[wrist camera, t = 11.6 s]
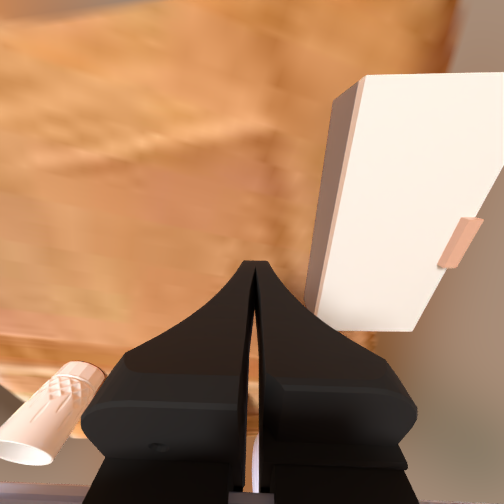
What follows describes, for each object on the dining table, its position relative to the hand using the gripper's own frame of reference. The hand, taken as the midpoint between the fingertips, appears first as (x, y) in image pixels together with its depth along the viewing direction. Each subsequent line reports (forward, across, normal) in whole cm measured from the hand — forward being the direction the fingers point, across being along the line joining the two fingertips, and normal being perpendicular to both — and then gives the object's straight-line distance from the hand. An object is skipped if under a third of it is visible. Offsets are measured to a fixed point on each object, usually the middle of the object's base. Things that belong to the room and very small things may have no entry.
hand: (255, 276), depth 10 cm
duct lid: (+6, -11, 0) cm, 13 cm away
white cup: (+10, +30, +28) cm, 42 cm away
